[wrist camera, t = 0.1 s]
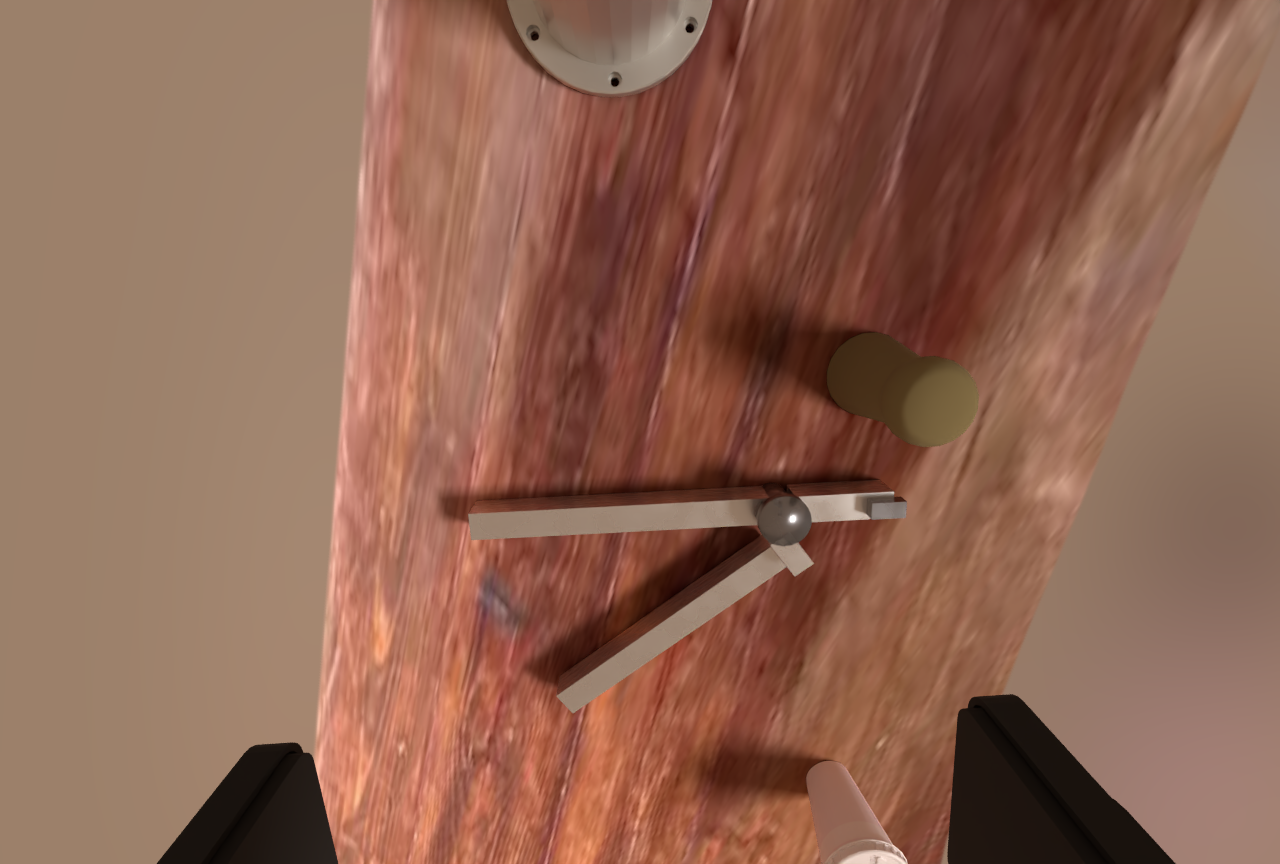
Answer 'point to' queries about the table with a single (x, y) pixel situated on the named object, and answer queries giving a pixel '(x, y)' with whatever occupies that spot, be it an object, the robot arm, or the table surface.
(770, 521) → the tongs jaw
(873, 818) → the smoothie
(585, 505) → the tongs fixed
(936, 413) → the olive pepper mill
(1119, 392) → the table surface
